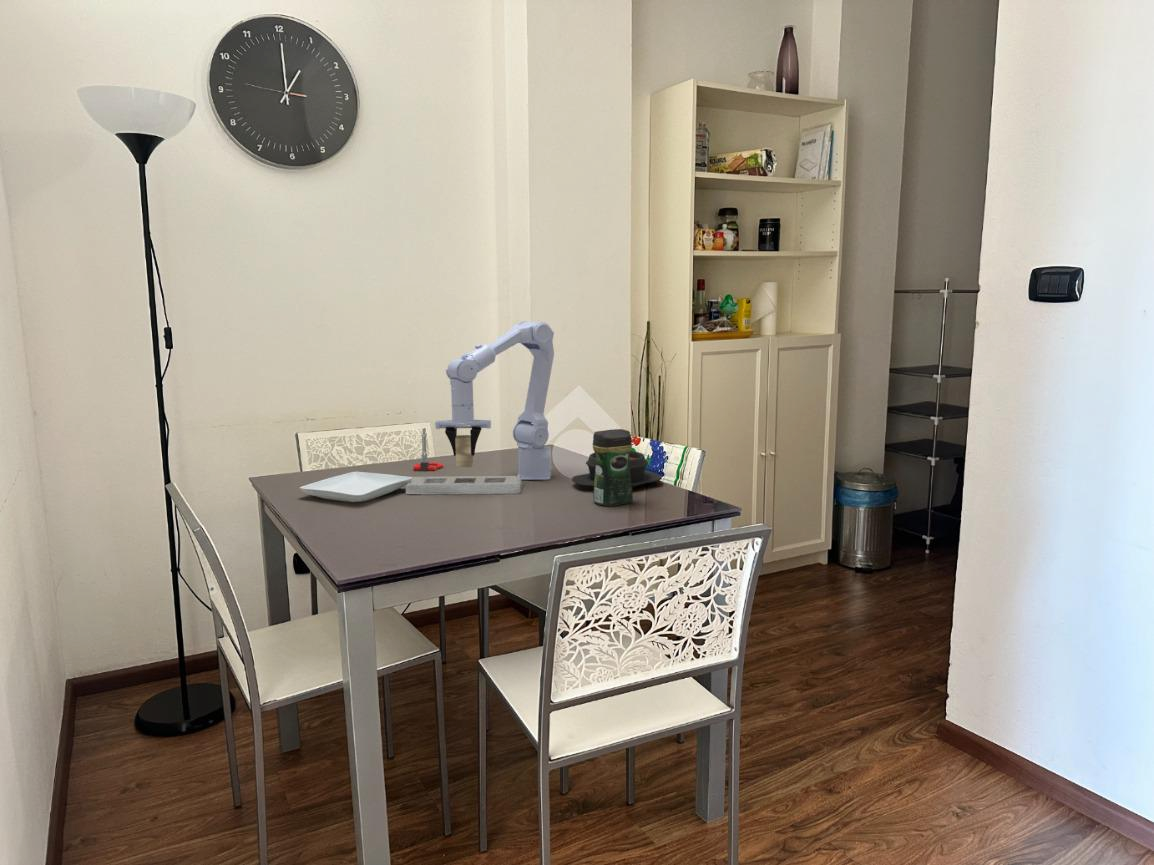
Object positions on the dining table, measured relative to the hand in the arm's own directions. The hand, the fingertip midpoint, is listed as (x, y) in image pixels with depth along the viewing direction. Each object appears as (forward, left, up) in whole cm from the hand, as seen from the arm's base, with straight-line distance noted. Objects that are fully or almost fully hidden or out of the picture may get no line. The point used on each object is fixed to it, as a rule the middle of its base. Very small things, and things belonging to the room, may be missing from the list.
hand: (464, 455), depth 220 cm
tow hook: (+15, -28, -10) cm, 33 cm away
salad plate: (+28, +4, -10) cm, 30 cm away
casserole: (-41, -4, -10) cm, 42 cm away
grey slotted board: (0, 0, -10) cm, 10 cm away
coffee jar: (-39, +15, -10) cm, 43 cm away
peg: (0, 0, -3) cm, 3 cm away
